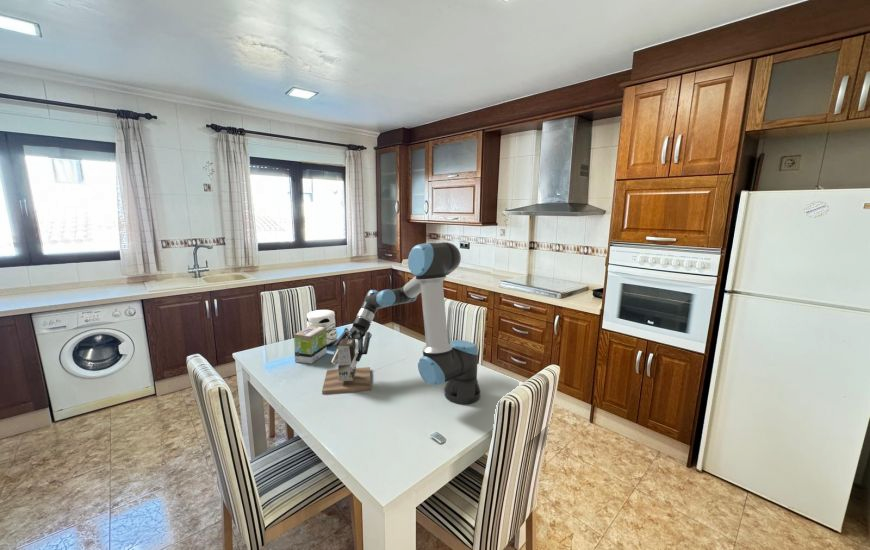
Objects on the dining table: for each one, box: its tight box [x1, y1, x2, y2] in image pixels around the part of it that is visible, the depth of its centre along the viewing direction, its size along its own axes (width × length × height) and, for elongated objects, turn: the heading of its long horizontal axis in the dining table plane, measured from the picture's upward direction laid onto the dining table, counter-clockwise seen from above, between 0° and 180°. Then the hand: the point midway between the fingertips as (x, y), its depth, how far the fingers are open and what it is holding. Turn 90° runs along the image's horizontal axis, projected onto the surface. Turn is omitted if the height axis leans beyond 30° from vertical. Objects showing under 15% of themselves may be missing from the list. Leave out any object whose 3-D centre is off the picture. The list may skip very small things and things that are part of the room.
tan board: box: [321, 366, 372, 395], centre depth 159 cm, size 20×20×2 cm
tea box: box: [293, 326, 328, 364], centre depth 183 cm, size 15×10×15 cm, turn 168°
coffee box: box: [337, 339, 357, 381], centre depth 156 cm, size 9×6×16 cm
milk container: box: [306, 309, 338, 347], centre depth 203 cm, size 17×17×18 cm
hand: (342, 365), depth 153 cm, fingers closed on coffee box, 9 cm apart
